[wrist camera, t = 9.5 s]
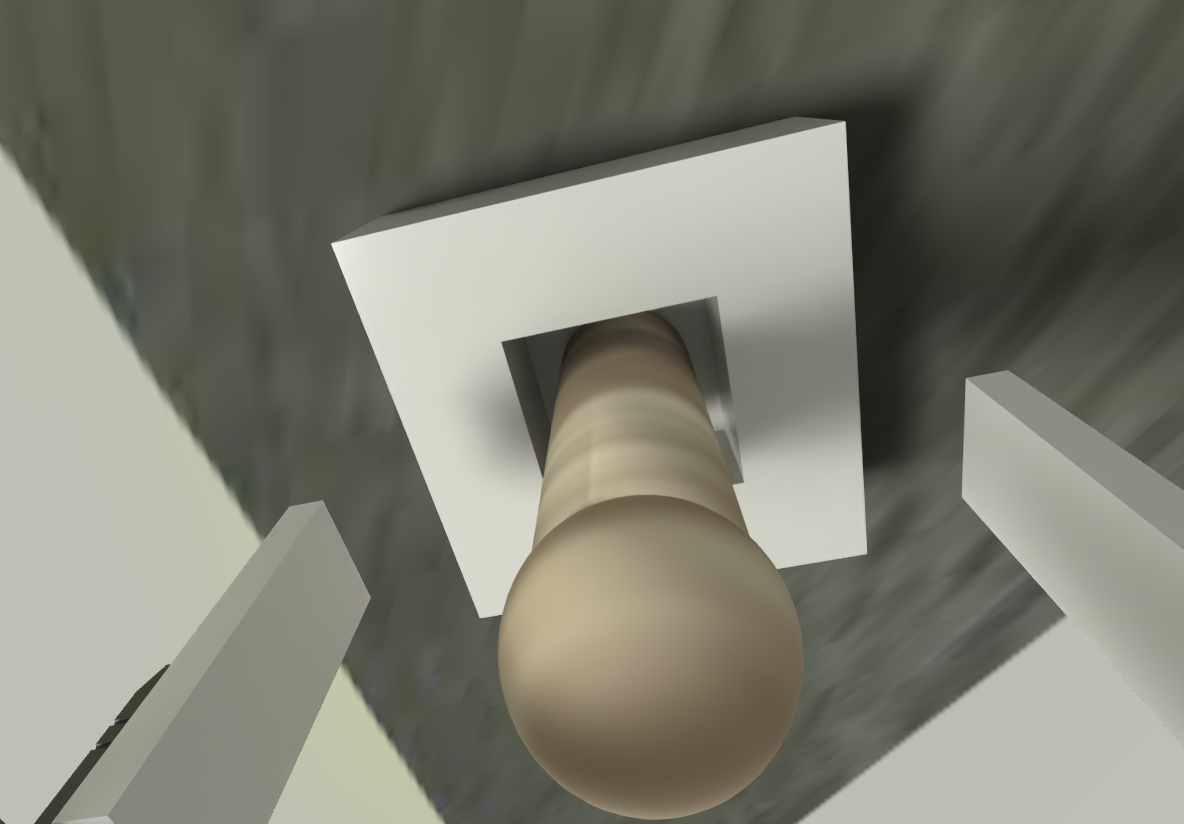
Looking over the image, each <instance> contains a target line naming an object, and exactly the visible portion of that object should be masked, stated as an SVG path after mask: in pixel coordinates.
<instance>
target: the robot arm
mask: <svg viewBox="0 0 1184 824" xmlns="http://www.w3.org/2000/svg"><path fill="white" fill-rule="evenodd" d="M962 498H963V499H964V500H965V501H966V502H967V503H968V505H969V506H970V507H971V508H972V509H973V510H974V511H975V512H976V514H977V515H978V516H979V517H980V518H981V519H982V520H983V521H984V523H985V524H986V525H987V526H988V527H989V528H990V529H991V531H992V532H993V533H994V534H995V535H996V536H997V537H998V538H999V540H1000V541H1001V542H1002V543H1003V544H1004V545H1005V546H1006V547H1007V549H1008V550H1009V551H1010V552H1011V553H1012V554H1013V555H1014V556H1015V558H1016V559H1017V560H1018V561H1019V562H1020V563H1021V564H1022V565H1023V567H1024V568H1025V569H1026V570H1027V571H1028V572H1029V573H1030V575H1031V576H1032V577H1033V578H1034V579H1035V580H1036V581H1037V582H1038V584H1039V585H1040V586H1041V587H1042V588H1043V589H1044V590H1045V591H1046V593H1047V594H1048V595H1049V596H1050V597H1051V598H1052V599H1053V600H1054V602H1055V603H1056V604H1057V605H1058V606H1059V607H1060V608H1061V609H1062V611H1063V612H1064V613H1065V614H1066V615H1067V616H1068V617H1069V619H1070V620H1071V621H1072V622H1073V623H1074V624H1075V625H1076V626H1077V628H1079V630H1080V631H1081V632H1082V633H1083V634H1084V635H1085V636H1086V638H1087V639H1088V640H1089V641H1090V642H1091V643H1092V644H1093V645H1094V647H1095V648H1096V649H1097V650H1098V651H1099V652H1100V653H1101V655H1102V656H1103V657H1104V658H1105V659H1106V660H1107V661H1108V663H1109V664H1110V665H1111V666H1112V667H1113V668H1114V669H1115V670H1116V672H1117V673H1118V674H1119V675H1120V676H1121V677H1122V678H1123V679H1124V680H1125V682H1126V683H1127V684H1128V685H1129V686H1130V687H1131V688H1132V690H1133V691H1134V692H1135V693H1136V694H1137V695H1138V696H1139V697H1140V699H1141V700H1142V701H1143V702H1144V703H1145V704H1146V705H1147V707H1148V708H1149V709H1150V710H1151V711H1152V712H1153V713H1154V714H1155V716H1156V717H1157V718H1158V719H1159V720H1160V721H1161V722H1162V723H1163V724H1164V726H1165V727H1166V728H1167V729H1168V730H1169V731H1170V732H1171V734H1172V735H1173V736H1174V737H1175V738H1176V739H1177V740H1178V741H1179V743H1180V744H1181V745H1182V746H1183V747H1184V491H1183V490H1182V489H1180V488H1179V487H1177V486H1176V485H1175V484H1173V483H1172V482H1170V481H1169V480H1167V479H1166V478H1164V477H1163V476H1161V475H1160V474H1159V473H1157V472H1156V471H1154V470H1153V469H1151V468H1150V467H1148V466H1147V465H1145V464H1144V463H1143V462H1141V461H1140V460H1138V459H1137V458H1135V457H1134V456H1132V455H1131V454H1129V453H1128V452H1127V451H1125V450H1124V449H1122V448H1121V447H1119V446H1118V445H1116V444H1115V443H1113V442H1112V441H1111V440H1109V439H1108V438H1106V437H1105V436H1103V435H1102V434H1100V433H1099V432H1097V431H1096V430H1095V429H1093V428H1092V427H1090V426H1089V425H1087V424H1086V423H1084V422H1083V421H1081V420H1080V419H1079V418H1077V417H1076V416H1074V415H1073V414H1071V413H1070V412H1068V411H1067V410H1065V409H1064V408H1063V407H1061V406H1060V405H1058V404H1057V403H1055V402H1054V401H1052V400H1051V399H1049V398H1048V397H1047V396H1045V395H1044V394H1042V393H1041V392H1039V391H1038V390H1036V389H1035V388H1033V387H1032V386H1030V385H1029V384H1028V383H1026V382H1025V381H1023V380H1022V379H1020V378H1019V377H1017V376H1016V375H1014V374H1013V373H1012V372H1010V371H1009V370H1007V371H1001V372H996V373H991V374H986V375H980V376H975V377H970V378H966V391H965V420H964V450H963V479H962ZM370 598H371V597H370V595H369V593H368V591H367V589H366V587H365V585H364V583H363V581H362V579H361V577H360V575H359V573H358V571H357V569H356V567H355V565H354V563H353V561H352V559H351V557H350V555H349V553H348V551H347V549H346V546H345V544H344V542H343V540H342V538H341V536H340V534H339V532H338V530H337V528H336V526H335V524H334V522H333V520H332V518H331V516H330V514H329V512H328V510H327V508H326V506H325V504H324V502H323V500H322V501H317V502H312V503H306V504H301V505H296V506H290V507H289V508H288V509H287V511H286V512H285V513H284V515H283V516H282V517H281V519H280V520H279V521H278V523H277V524H276V525H275V527H274V528H273V529H272V531H271V532H270V533H269V535H268V536H267V537H266V538H265V540H264V541H263V542H262V544H261V545H260V546H259V548H258V549H257V550H256V552H255V553H254V554H253V556H252V557H251V558H250V560H249V561H248V563H247V564H246V565H245V566H244V568H243V569H242V571H241V572H240V573H239V574H238V576H237V577H236V578H235V580H234V581H233V582H232V584H231V585H230V586H229V588H228V589H227V590H226V592H225V593H224V594H223V596H222V597H221V598H220V600H219V601H218V602H217V604H216V605H215V606H214V608H213V609H212V610H211V612H210V613H209V614H208V616H207V617H206V618H205V620H204V621H203V622H202V624H201V625H200V626H199V628H198V629H197V630H196V632H195V633H194V634H193V636H192V637H191V638H190V640H189V641H188V642H187V644H186V645H185V646H184V648H183V649H182V650H181V652H180V653H179V654H178V656H177V657H176V658H175V660H174V661H173V662H172V664H169V665H166V666H165V667H164V668H163V669H161V670H160V671H159V672H158V673H157V674H156V675H155V676H154V677H152V678H151V679H150V680H149V681H148V682H147V683H146V684H145V685H143V686H142V687H141V688H140V689H139V690H138V691H137V692H136V693H135V694H134V696H133V697H132V698H131V699H130V701H129V702H128V703H127V705H126V706H125V707H124V708H123V710H122V711H121V712H120V714H119V715H118V716H117V717H116V719H115V724H114V725H113V726H110V727H109V728H108V729H107V730H106V732H105V733H104V734H103V736H102V737H101V738H100V739H99V741H98V742H97V743H96V749H95V750H91V751H90V753H89V754H88V755H87V757H85V759H84V760H83V761H82V763H81V764H80V765H79V767H78V768H77V769H76V770H75V772H74V773H73V774H72V776H71V777H70V778H69V779H68V781H67V782H66V783H65V785H64V786H63V787H62V789H61V790H60V791H59V792H58V794H57V795H56V796H55V797H54V799H53V800H52V802H51V803H50V804H49V805H48V807H47V808H46V809H45V810H44V812H43V813H42V814H41V816H40V817H39V818H38V819H37V821H36V822H35V823H34V824H268V822H269V820H270V817H271V815H272V813H273V811H274V809H275V807H276V804H277V802H278V800H279V798H280V796H281V793H282V791H283V789H284V787H285V785H286V782H287V780H288V778H289V776H290V774H291V772H292V769H293V767H294V764H295V763H296V761H297V758H298V756H299V754H300V752H301V750H302V747H303V745H304V743H305V741H306V739H307V736H308V734H309V732H310V730H311V728H312V725H313V723H314V721H315V719H316V716H317V714H318V712H319V710H320V708H321V706H322V704H323V701H324V699H325V697H326V695H327V693H328V690H329V688H330V686H331V684H332V682H333V679H334V677H335V675H336V673H337V671H338V669H339V666H340V664H341V662H342V660H343V658H344V655H345V653H346V651H347V649H348V647H349V644H350V642H351V640H352V638H353V636H354V633H355V631H356V629H357V627H358V625H359V623H360V620H361V618H362V616H363V614H364V612H365V609H366V607H367V605H368V603H369V601H370ZM0 824H5V823H4V822H3V821H2V820H1V819H0Z"/></svg>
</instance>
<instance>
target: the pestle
mask: <svg viewBox="0 0 1184 824" xmlns="http://www.w3.org/2000/svg"><path fill="white" fill-rule="evenodd" d="M498 663H499V674H500V682H501V686H502V691H503V695H504V699H505V702H506V705H507V709H508V712H509V714H510V716H511V719H512V721H513V723H514V726H515V728H516V730H517V732H518V734H519V736H520V738H521V739H522V741H523V742H524V744H525V745H526V747H527V748H528V750H529V751H530V753H531V754H532V755H533V757H534V758H535V760H536V761H537V762H538V763H539V764H540V765H541V767H542V768H543V769H544V770H545V771H546V772H547V773H548V774H549V775H550V776H551V777H552V778H553V779H554V780H555V781H556V782H558V783H559V784H560V785H561V786H563V787H564V788H565V789H566V790H568V791H570V792H571V793H573V794H574V795H576V796H578V797H579V798H581V799H582V800H584V801H586V802H587V803H589V804H591V805H594V806H596V807H598V808H600V809H603V810H606V811H609V812H612V813H616V814H620V815H624V816H628V817H634V818H641V819H670V818H678V817H684V816H687V815H691V814H695V813H698V812H701V811H704V810H707V809H710V808H712V807H714V806H717V805H719V804H721V803H723V802H725V801H726V800H728V799H730V798H731V797H733V796H734V795H736V794H737V793H738V792H740V791H741V790H742V789H744V788H745V787H746V786H747V785H749V784H750V783H751V782H753V781H754V780H755V779H756V778H757V777H758V776H759V775H760V774H761V773H762V771H763V770H764V769H765V768H766V766H767V765H768V764H769V762H770V761H771V760H772V759H773V757H774V756H775V755H776V753H777V752H778V751H779V749H780V747H781V745H782V743H783V742H784V740H785V738H786V736H787V734H788V731H789V729H790V727H791V725H792V722H793V720H794V717H795V714H796V711H797V707H798V703H799V699H800V695H801V689H802V682H803V669H804V657H803V643H802V634H801V629H800V625H799V620H798V616H797V613H796V609H795V606H794V603H793V601H792V598H791V596H790V593H789V591H788V589H787V587H786V585H785V583H784V581H783V579H782V577H781V575H780V574H779V572H778V570H777V569H776V567H775V565H774V564H773V563H772V561H771V560H770V559H769V557H768V556H767V555H766V553H765V552H764V551H763V550H762V549H761V548H760V546H759V545H758V544H757V543H756V542H755V541H754V540H753V539H752V538H751V537H750V536H749V533H748V530H747V527H746V524H745V521H744V518H743V515H742V512H741V509H740V506H739V503H738V500H737V497H736V494H735V491H734V488H733V485H732V482H731V479H730V476H729V473H728V470H727V467H726V464H725V461H724V458H723V455H722V452H721V449H720V446H719V443H718V440H717V437H716V434H715V431H714V428H713V425H712V422H711V419H710V416H709V413H708V410H707V407H706V404H705V401H704V398H703V395H702V392H701V389H700V386H699V384H698V381H697V378H696V375H695V372H694V369H693V366H692V363H691V360H690V357H689V354H688V351H687V348H686V346H685V343H684V341H683V340H682V338H681V336H680V335H679V333H678V332H677V331H676V330H675V329H674V328H673V327H672V326H671V325H670V324H669V323H668V322H667V321H665V320H664V319H662V318H661V317H659V316H657V315H655V314H653V313H650V312H647V311H643V312H638V313H634V314H629V315H624V316H620V317H615V318H610V319H606V320H601V321H596V322H592V323H587V324H583V325H581V326H580V327H579V328H578V329H577V330H576V331H575V333H574V334H573V335H572V337H571V338H570V340H569V342H568V344H567V346H566V348H565V351H564V354H563V358H562V364H561V370H560V376H559V383H558V389H557V395H556V401H555V408H554V414H553V420H552V426H551V433H550V439H549V445H548V452H547V458H546V464H545V470H544V477H543V483H542V489H541V495H540V502H539V508H538V514H537V520H536V527H535V533H534V539H533V546H532V552H531V553H530V554H529V555H528V557H527V558H526V560H525V561H524V563H523V565H522V566H521V568H520V569H519V571H518V573H517V575H516V577H515V579H514V581H513V583H512V586H511V588H510V591H509V593H508V595H507V599H506V602H505V606H504V609H503V613H502V618H501V622H500V630H499V640H498Z"/></svg>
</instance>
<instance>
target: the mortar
mask: <svg viewBox="0 0 1184 824" xmlns="http://www.w3.org/2000/svg"><path fill="white" fill-rule="evenodd" d="M331 244H332V247H333V249H334V252H335V254H336V257H337V259H338V262H339V264H340V267H341V269H342V272H343V274H344V277H345V280H346V282H347V285H348V287H349V290H350V292H351V295H352V297H353V300H354V302H355V305H356V307H357V310H358V312H359V315H360V317H361V320H362V322H363V325H364V327H365V330H366V332H367V335H368V337H369V340H370V342H371V345H372V347H373V350H374V352H375V355H376V357H377V360H378V363H379V365H380V368H381V370H382V373H383V375H384V378H385V380H386V383H387V385H388V388H389V390H390V393H391V395H392V398H393V400H394V403H395V405H396V408H397V410H398V413H399V415H400V418H401V420H402V423H403V425H404V428H405V430H406V433H407V435H408V438H409V440H410V443H411V446H412V448H413V451H414V453H415V456H416V458H417V461H418V463H419V466H420V468H421V471H422V473H423V476H424V478H425V481H426V483H427V486H428V488H429V491H430V493H431V496H432V498H433V501H434V503H435V506H436V508H437V511H438V513H439V516H440V518H441V521H442V523H443V526H444V529H445V531H446V534H447V536H448V539H449V541H450V544H451V546H452V549H453V551H454V554H455V556H456V559H457V561H458V564H459V566H460V569H461V571H462V574H463V576H464V579H465V581H466V584H467V586H468V589H469V591H470V594H471V596H472V599H473V601H474V604H475V606H476V609H477V612H478V614H479V617H480V618H484V617H490V616H496V615H502V613H503V609H504V606H505V602H506V599H507V595H508V593H509V591H510V588H511V586H512V583H513V581H514V579H515V577H516V575H517V573H518V571H519V569H520V568H521V566H522V565H523V563H524V561H525V560H526V558H527V557H528V555H529V554H530V553H531V552H532V546H533V539H534V533H535V527H536V520H537V514H538V508H539V502H540V495H541V489H542V483H543V477H544V470H545V464H546V458H547V452H548V445H549V439H550V433H551V426H552V420H553V414H554V408H555V401H556V395H557V389H558V383H559V376H560V370H561V364H562V358H563V354H564V351H565V348H566V346H567V344H568V342H569V340H570V338H571V337H572V335H573V334H574V333H575V331H576V330H577V329H578V328H579V327H580V326H581V325H583V324H587V323H592V322H596V321H601V320H606V319H610V318H615V317H620V316H624V315H629V314H634V313H638V312H643V311H647V312H650V313H653V314H655V315H657V316H659V317H661V318H662V319H664V320H665V321H667V322H668V323H669V324H670V325H671V326H672V327H673V328H674V329H675V330H676V331H677V332H678V333H679V335H680V336H681V338H682V340H683V341H684V343H685V346H686V348H687V351H688V354H689V357H690V360H691V363H692V366H693V369H694V372H695V375H696V378H697V381H698V384H699V386H700V389H701V392H702V395H703V398H704V401H705V404H706V407H707V410H708V413H709V416H710V419H711V422H712V425H713V428H714V431H715V434H716V437H717V440H718V443H719V446H720V449H721V452H722V455H723V458H724V461H725V464H726V467H727V470H728V473H729V476H730V479H731V482H732V485H733V488H734V491H735V494H736V497H737V500H738V503H739V506H740V509H741V512H742V515H743V518H744V521H745V524H746V527H747V530H748V533H749V536H750V537H751V538H752V539H753V540H754V541H755V542H756V543H757V544H758V545H759V546H760V548H761V549H762V550H763V551H764V552H765V553H766V555H767V556H768V557H769V559H770V560H771V561H772V563H773V564H774V565H775V567H776V569H779V568H785V567H791V566H797V565H803V564H809V563H815V562H821V561H827V560H833V559H839V558H845V557H851V556H857V555H863V554H867V544H866V524H865V504H864V484H863V464H862V443H861V423H860V403H859V383H858V363H857V343H856V323H855V302H854V282H853V262H852V242H851V222H850V202H849V182H848V162H847V141H846V121H839V120H828V119H818V118H807V117H796V116H795V117H791V118H787V119H783V120H778V121H774V122H770V123H766V124H762V125H758V126H753V127H749V128H745V129H741V130H737V131H733V132H729V133H724V134H720V135H716V136H712V137H708V138H704V139H699V140H695V141H691V142H687V143H683V144H679V145H674V146H670V147H666V148H662V149H658V150H654V151H649V152H645V153H641V154H637V155H633V156H629V157H625V158H620V159H616V160H612V161H608V162H604V163H600V164H595V165H591V166H587V167H583V168H579V169H575V170H570V171H566V172H562V173H558V174H554V175H550V176H545V177H541V178H537V179H533V180H529V181H525V182H521V183H516V184H512V185H508V186H504V187H500V188H496V189H491V190H487V191H483V192H479V193H475V194H471V195H466V196H462V197H458V198H454V199H450V200H446V201H442V202H437V203H433V204H429V205H425V206H421V207H417V208H412V209H408V210H404V211H400V212H396V213H392V214H387V215H383V216H381V217H379V218H377V219H375V220H374V221H372V222H370V223H368V224H366V225H364V226H362V227H361V228H359V229H357V230H355V231H353V232H351V233H349V234H348V235H346V236H344V237H342V238H340V239H338V240H336V241H335V242H333V243H331Z"/></svg>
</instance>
